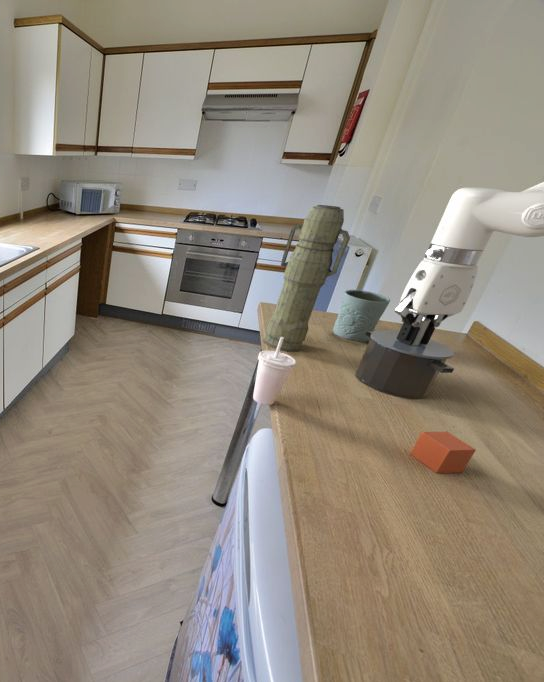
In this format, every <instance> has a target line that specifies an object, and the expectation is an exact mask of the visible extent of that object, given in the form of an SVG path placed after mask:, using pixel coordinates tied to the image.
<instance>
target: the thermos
mask: <svg viewBox="0 0 544 682" xmlns="http://www.w3.org/2000/svg"><path fill="white" fill-rule="evenodd" d="M344 220H345V211H344V209H343V208H341V207H340V206H337V205H336V206H335V205H328V204H327V205H326V204H317V205H316V206H312V207H311V209H310V210H309V211H308V213H307V215H306V216H305V218H304V221H303V223H298V224H296V225H295V226H293V227H292V228H291V230H290V232H289V236H288V239H287V242H286V246H285V248H284V251H283V255H282V259H281V262H280V266H281V267H284V274H283V283H282V286H281V290H280V293H279V296H278V298H277V299H278V300H277V302H276V306H275V308H274V312H273V315H272V317H271V318H270V319H269V320H268V323H267V326H266V329H265V335H264V338H263V343H264V344H265V345H266V346H268V347H270V348H272V349H277V346H278V343H279V340H280V337H284V339H283V342H282V345H281V348H280V351H282V352H292V353H295V352H299V351H301V348H302V344H303V343H304V342H305V339H306V337H307V334H308V331H309V321H310V318H311V316H312V313H313V310H314V307H315V304H316V302H317V299H318V296H319V293H320V291H321V288H322V287H323V286H324V285H325V284H326V281H327V278H328V277H331V276H333V275H335V274H336V273H337V272H338V270H339V267H340V264H341V261H342V259H343V257H344V254H345V252H346V249H347V246H348V244H349V242H350V239H351V237H350V234H349V231H347V230H345V229H343V225H344V222H345V221H344ZM297 229H299V230H300V233H299V235H298V242H297V244H296V245H295V248H294V250H293V251H292V253H291V254H290V256H289V255H288V254H289V252H290V248H291V245H292V242H293V239H294V236H295V232H296V231H297ZM340 235H342V238H343V240H342V243H341V246H340V248H339V250H338V253H337V256H336V259H335V262H334V263H333V253H334V247H335V244H337V241H338V239H339V236H340ZM288 256H289V258H288ZM287 258H288V261H287ZM286 261H287V262H286ZM332 265H333V267H332ZM331 267H332V269H331Z"/></svg>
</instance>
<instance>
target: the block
mask: <svg viewBox="0 0 544 682" xmlns="http://www.w3.org/2000/svg"><path fill="white" fill-rule="evenodd" d="M476 451H477V449H476V448H474V447H472V446H471V445H470V444H468V443H466V442H465V441H463V440H462V439H459V438H458V437H457V436H456V435H453V434H451V433H450V432H448V431H422V432H420V435H419V437H418V439H417V440H416V442H415V444H414V445H413V447H412V450H411V451H410V453H409V455H411V456H412V457H413V458H415V459H416V460H417V461H419V462H420V463H422V464H423V465H425V467H427V468H428V469H429V470H431V471H432V472H433V473H435V474H447V473H448V474H450V473H451V474H453V473H462V472H463V471H464V470H465V468H466V466H467V465H468V464H469V462H470V460H471V458H472V457H473V456H474V454H475V453H476Z"/></svg>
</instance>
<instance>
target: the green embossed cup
mask: <svg viewBox="0 0 544 682" xmlns="http://www.w3.org/2000/svg"><path fill="white" fill-rule="evenodd" d="M390 303H391V299H390V298H389V297H387V296H385V295H383V294H380V293H376V292H372V291H367V290H362V289H348V290H345V291H344V293H343V296H342V300H341V303H340V307H339V311H338V314H337V318H336V320H335V322H334V324H333V325H334V326H333V329H332V332H333V334H334V335H336V336H338V337H339V338H342V339H345V340H348V341H349V340H350V341H354V342H369V340H370V337H368V336H366V335H365V334H366V332H367V331H375V328H376V327H377V325H378V324H379V321H380V320H381V317H382V316H383V315H384V313H385V311H386V310H387V308H388V306H389V304H390ZM357 340H358V341H357ZM366 340H367V341H366Z"/></svg>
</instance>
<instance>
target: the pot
mask: <svg viewBox="0 0 544 682" xmlns="http://www.w3.org/2000/svg"><path fill="white" fill-rule="evenodd" d="M374 331H375V330H374ZM374 331H367V332H366V334H365V335H366V336H368V337H370V339H369V340H368V342H367V345H366V348H365V349H364V351H363V354H362V355H361V358H360V361H359V363H358V365H357V368H356V370H355V373H354V375H355V377H356V378H357V380H358V381H360V382H361V383H362V384H364V385H366V386H368V387H369V388H371V389H374V390H376V391H378V392H382V393H384V394H387V395H391V396H394V397H398V398H403V399H409V400H420V399H424V398H425V397H427V395H429V393H430V391H431V390H432V387H433V385H434V384H435V382H436V381H437V378H438V376H439V374H440V373H441V374H452V373H453V372H454V370H455V367H452V366H450V365H448V364H446V361H447V360H448V359H430V358H423V357H418V356H413V355H409V354H405V353H401V352H398V351H395V350H392V349H390V348H387V347H385V346H383V345H380V344H379V343H377V342H375V341H374V340H373V339H372V338H371V333H372V332H374Z"/></svg>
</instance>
